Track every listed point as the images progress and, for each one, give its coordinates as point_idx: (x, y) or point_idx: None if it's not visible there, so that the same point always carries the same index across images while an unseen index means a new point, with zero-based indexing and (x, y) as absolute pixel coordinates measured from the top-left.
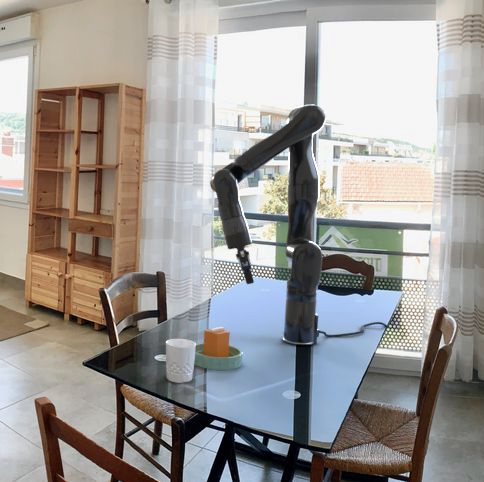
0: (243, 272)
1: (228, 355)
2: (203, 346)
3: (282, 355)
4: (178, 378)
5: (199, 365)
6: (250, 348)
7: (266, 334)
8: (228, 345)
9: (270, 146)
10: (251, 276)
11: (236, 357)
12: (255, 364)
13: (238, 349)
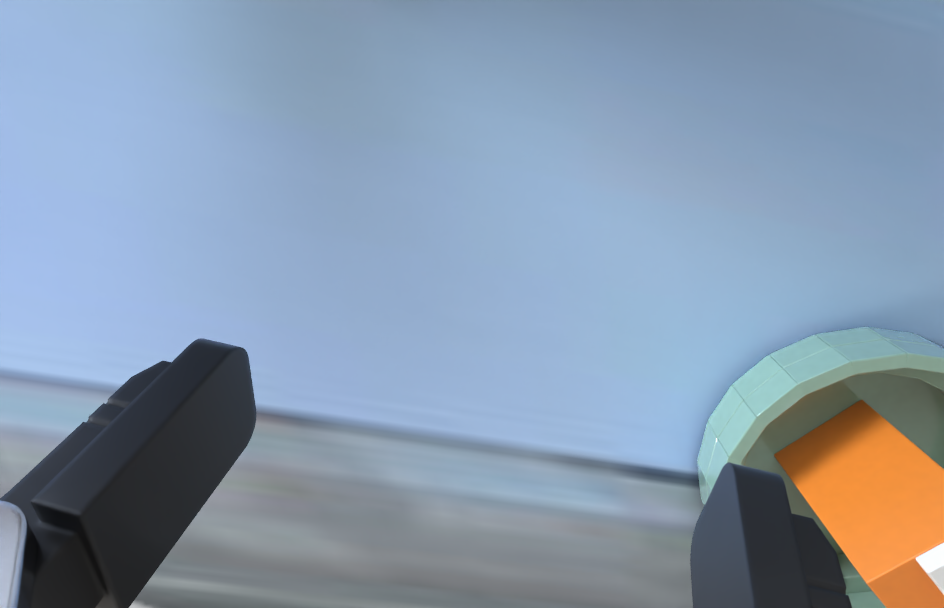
0: (137, 589)
1: (884, 419)
2: None
3: (661, 12)
4: None
5: None
6: (522, 204)
7: (152, 19)
8: (929, 457)
9: None
10: (796, 597)
11: None
12: (859, 238)
13: (871, 368)
